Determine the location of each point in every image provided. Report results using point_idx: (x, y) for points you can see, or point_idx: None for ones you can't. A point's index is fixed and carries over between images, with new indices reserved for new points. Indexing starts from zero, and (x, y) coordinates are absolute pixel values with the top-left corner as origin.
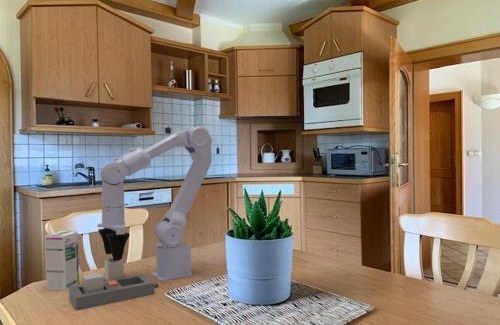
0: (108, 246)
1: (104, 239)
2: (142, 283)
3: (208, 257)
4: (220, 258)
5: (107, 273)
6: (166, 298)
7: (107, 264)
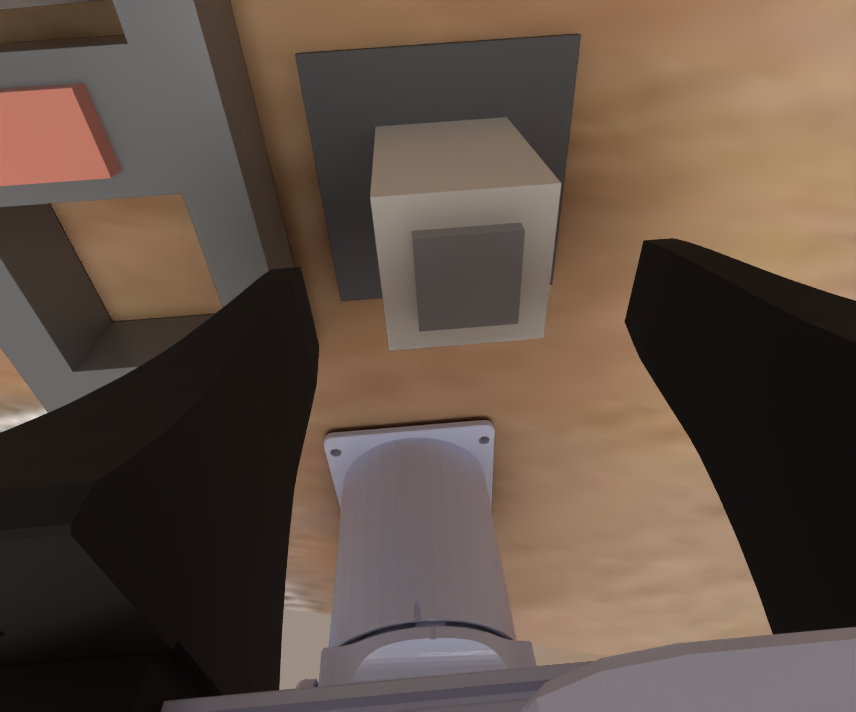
0: (690, 321)
1: (796, 343)
2: (45, 352)
3: (582, 621)
4: (534, 641)
5: (408, 153)
6: (11, 397)
7: (404, 187)
